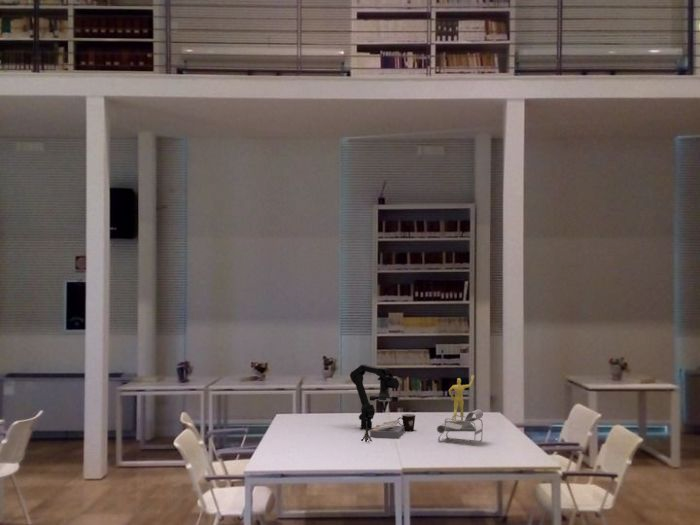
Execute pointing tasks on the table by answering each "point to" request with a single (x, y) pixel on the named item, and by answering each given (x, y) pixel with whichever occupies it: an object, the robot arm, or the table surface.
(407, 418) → the coffee mug
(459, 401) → the statue
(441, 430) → the chair
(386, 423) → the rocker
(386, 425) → the rocker
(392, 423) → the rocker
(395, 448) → the table surface
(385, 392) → the robot arm
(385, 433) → the console
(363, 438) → the eiffel tower figurine
